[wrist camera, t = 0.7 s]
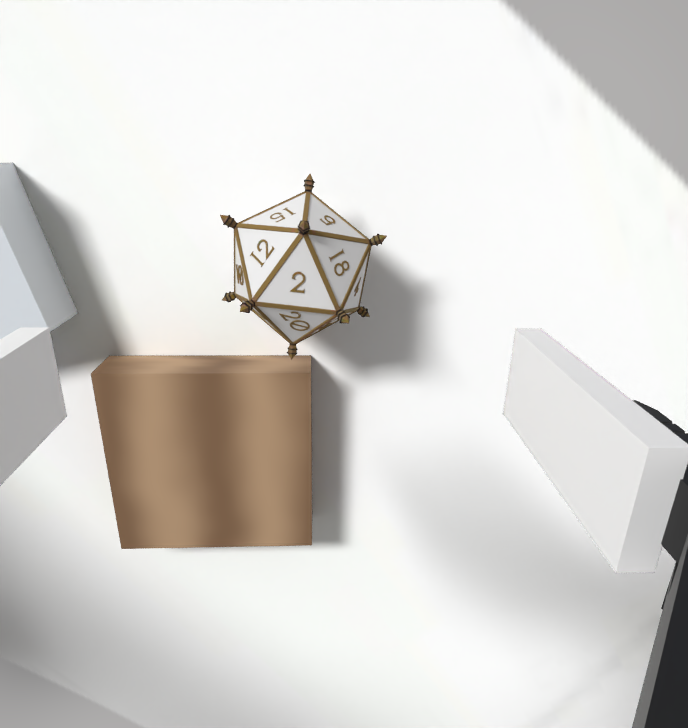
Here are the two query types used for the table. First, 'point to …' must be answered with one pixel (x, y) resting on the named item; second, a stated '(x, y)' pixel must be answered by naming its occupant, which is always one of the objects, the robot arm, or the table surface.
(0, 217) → the card box
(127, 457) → the plinth
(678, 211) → the table surface
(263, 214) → the game die
